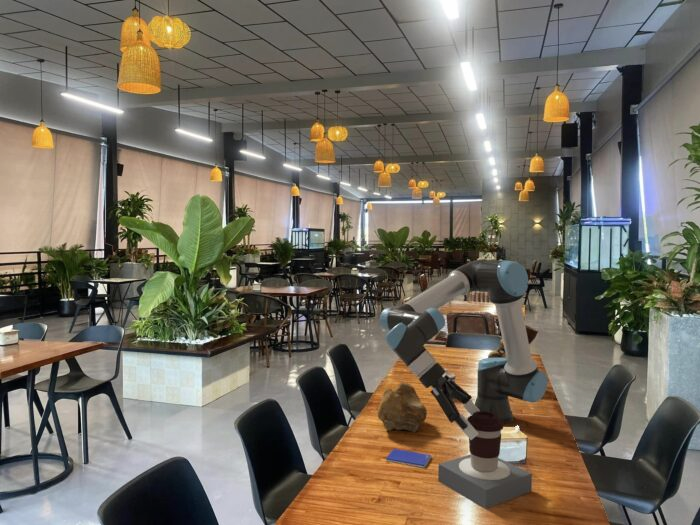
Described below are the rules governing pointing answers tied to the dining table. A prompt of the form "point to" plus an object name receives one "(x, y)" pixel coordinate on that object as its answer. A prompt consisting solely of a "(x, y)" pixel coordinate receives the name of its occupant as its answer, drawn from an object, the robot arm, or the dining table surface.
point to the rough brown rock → (401, 408)
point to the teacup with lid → (449, 375)
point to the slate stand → (485, 481)
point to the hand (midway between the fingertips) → (478, 428)
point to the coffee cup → (485, 441)
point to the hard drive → (408, 458)
